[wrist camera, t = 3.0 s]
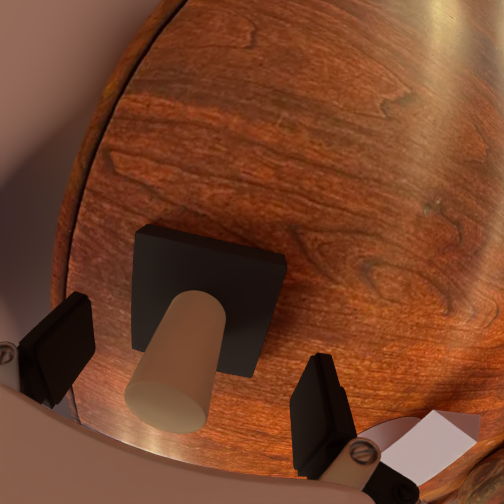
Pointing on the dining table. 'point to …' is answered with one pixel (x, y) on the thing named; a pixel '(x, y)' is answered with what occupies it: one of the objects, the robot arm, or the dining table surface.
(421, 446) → the wedge on round base
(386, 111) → the dining table surface
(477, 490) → the ceramic vessel
